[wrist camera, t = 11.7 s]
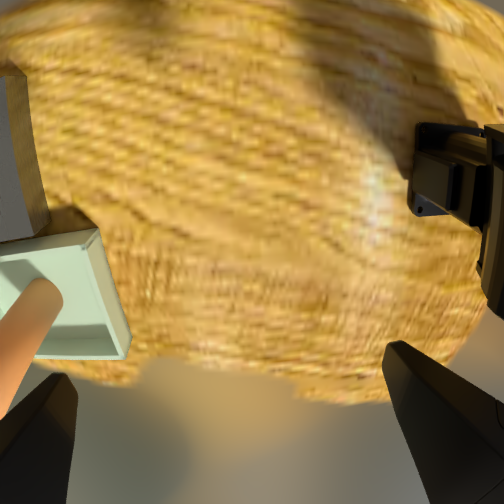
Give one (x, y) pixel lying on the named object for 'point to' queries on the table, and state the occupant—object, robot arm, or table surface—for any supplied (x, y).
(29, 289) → the pin
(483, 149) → the robot arm
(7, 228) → the plate
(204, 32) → the table surface
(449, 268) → the table surface
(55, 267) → the tray
